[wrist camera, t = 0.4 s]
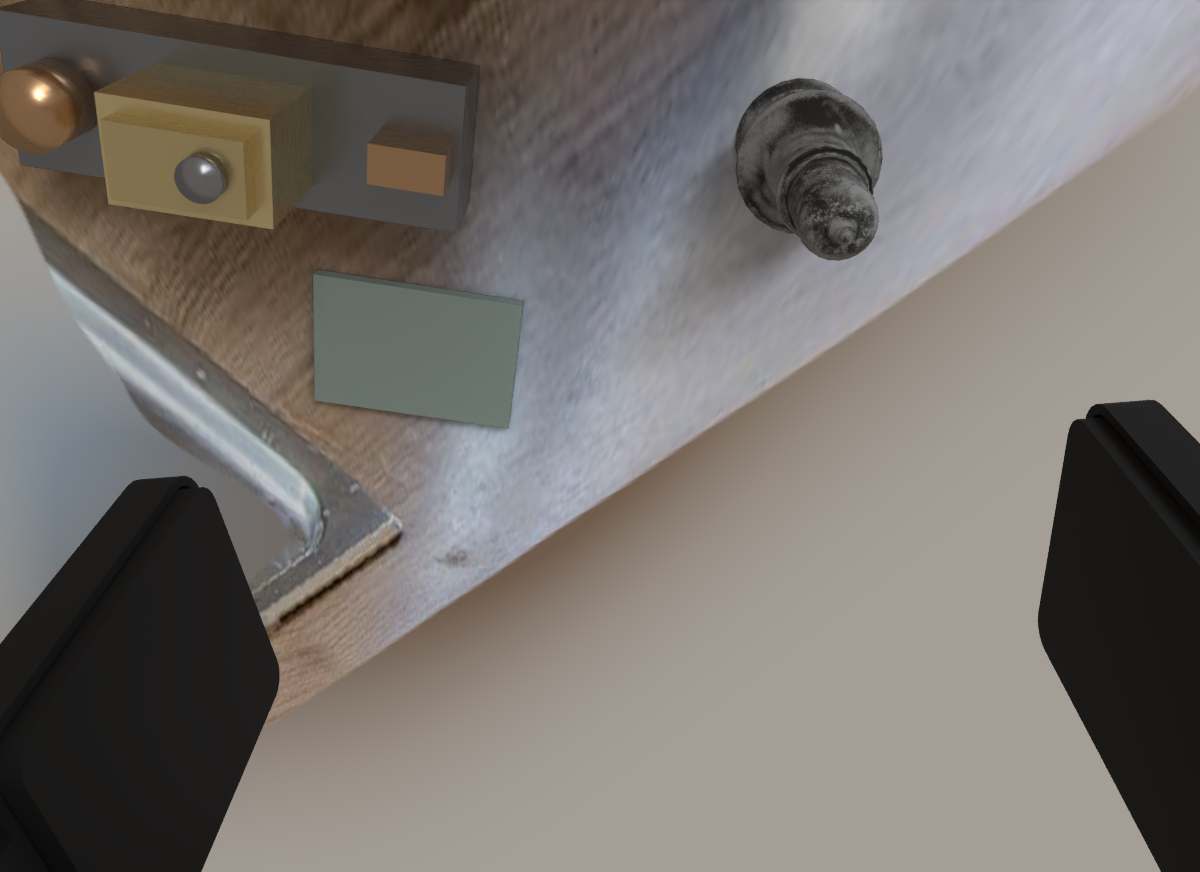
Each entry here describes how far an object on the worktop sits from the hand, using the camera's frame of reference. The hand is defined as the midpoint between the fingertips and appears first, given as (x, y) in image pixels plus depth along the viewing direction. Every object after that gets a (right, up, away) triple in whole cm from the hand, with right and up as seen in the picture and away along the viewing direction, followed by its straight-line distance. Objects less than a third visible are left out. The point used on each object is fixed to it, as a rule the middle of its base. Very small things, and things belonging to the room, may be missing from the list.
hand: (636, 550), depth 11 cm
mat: (-10, +6, +37) cm, 39 cm away
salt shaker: (+8, +14, +31) cm, 35 cm away
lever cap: (-15, +14, +28) cm, 34 cm away
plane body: (-15, +16, +31) cm, 38 cm away
